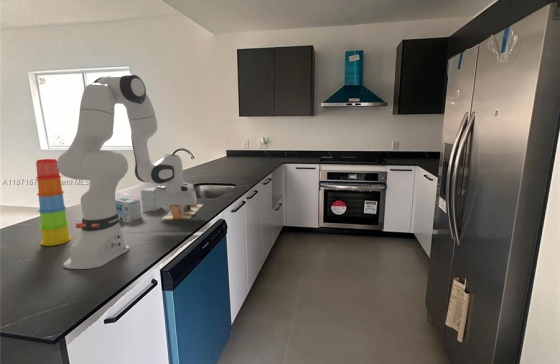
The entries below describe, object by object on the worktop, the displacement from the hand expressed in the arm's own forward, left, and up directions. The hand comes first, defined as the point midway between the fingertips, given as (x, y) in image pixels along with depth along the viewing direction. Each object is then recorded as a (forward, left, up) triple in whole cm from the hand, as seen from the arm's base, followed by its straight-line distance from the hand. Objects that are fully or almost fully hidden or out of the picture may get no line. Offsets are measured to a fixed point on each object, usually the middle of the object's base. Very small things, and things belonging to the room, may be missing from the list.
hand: (177, 213), depth 152 cm
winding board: (+10, 0, -3) cm, 10 cm away
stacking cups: (-29, +41, -3) cm, 50 cm away
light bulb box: (-1, +24, -3) cm, 24 cm away
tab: (0, 0, -2) cm, 2 cm away
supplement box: (+14, +19, -3) cm, 24 cm away
